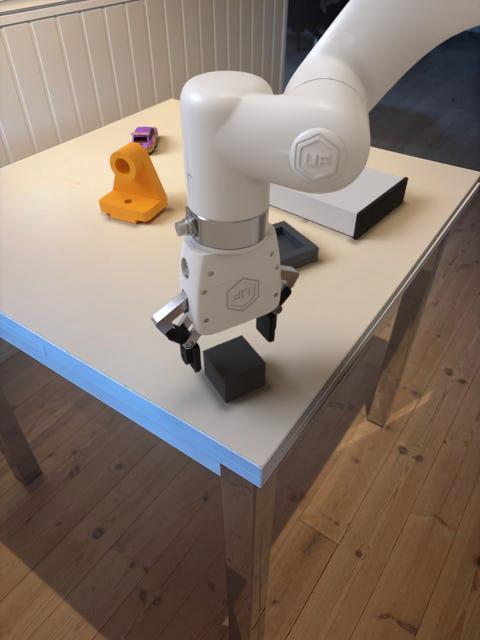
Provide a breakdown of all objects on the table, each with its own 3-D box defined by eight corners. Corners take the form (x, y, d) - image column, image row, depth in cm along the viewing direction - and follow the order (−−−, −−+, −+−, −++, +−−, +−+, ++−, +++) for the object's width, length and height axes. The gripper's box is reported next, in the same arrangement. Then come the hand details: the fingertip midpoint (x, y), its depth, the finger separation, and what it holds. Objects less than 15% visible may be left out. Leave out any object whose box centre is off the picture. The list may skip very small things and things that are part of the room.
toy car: (160, 136, 121) (158, 117, 118) (153, 155, 112) (151, 135, 109) (138, 136, 121) (135, 117, 118) (129, 155, 112) (126, 135, 109)
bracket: (99, 214, 92) (85, 152, 84) (121, 198, 97) (110, 137, 89) (147, 226, 88) (137, 162, 80) (168, 208, 93) (160, 146, 85)
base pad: (283, 232, 86) (284, 220, 84) (317, 260, 80) (319, 247, 78) (234, 248, 82) (234, 236, 81) (266, 279, 76) (266, 265, 74)
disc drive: (356, 240, 84) (361, 214, 81) (255, 200, 95) (255, 176, 92) (403, 202, 94) (409, 177, 91) (307, 170, 105) (308, 147, 102)
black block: (242, 357, 63) (242, 334, 60) (264, 385, 60) (265, 362, 57) (204, 373, 61) (202, 350, 58) (225, 403, 58) (224, 380, 55)
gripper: (158, 266, 40) (175, 400, 51) (326, 214, 46) (308, 343, 58) (126, 225, 45) (148, 355, 56) (282, 183, 51) (274, 307, 63)
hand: (230, 349), depth 57 cm, fingers open, 9 cm apart
